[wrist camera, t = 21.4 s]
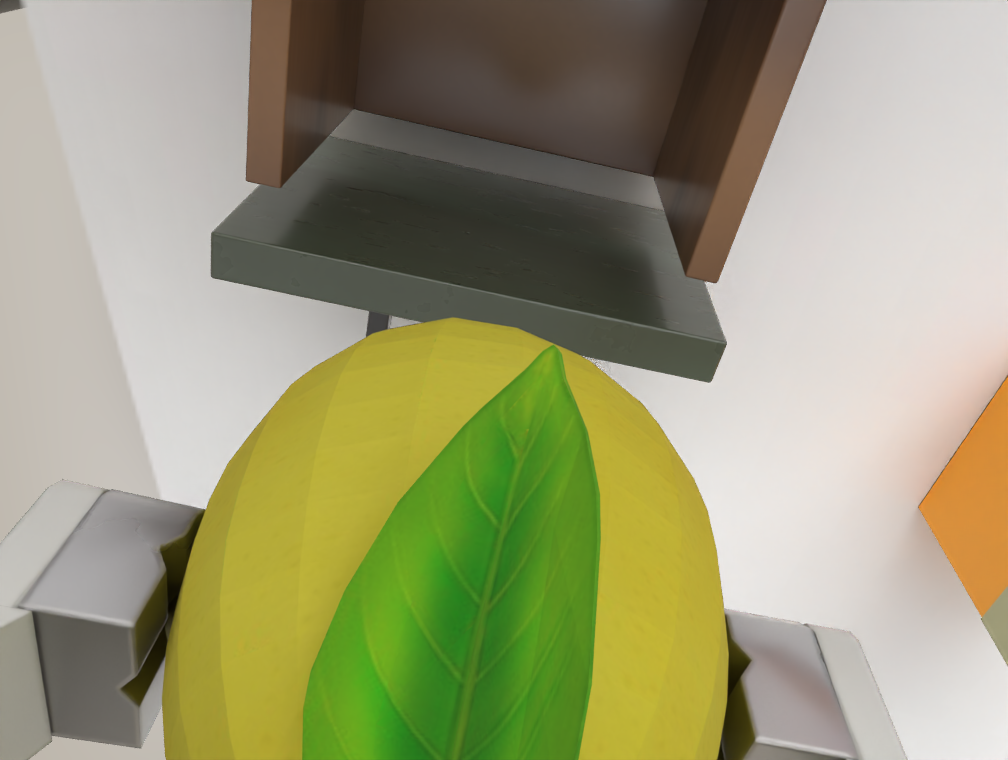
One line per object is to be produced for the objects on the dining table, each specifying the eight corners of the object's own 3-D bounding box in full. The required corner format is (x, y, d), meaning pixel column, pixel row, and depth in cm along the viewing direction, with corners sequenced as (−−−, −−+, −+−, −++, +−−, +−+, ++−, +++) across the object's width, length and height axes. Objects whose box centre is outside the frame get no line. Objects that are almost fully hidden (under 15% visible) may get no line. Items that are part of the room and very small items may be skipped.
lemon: (455, 617, 14) (303, 1713, 6) (193, 401, 12) (-693, 1654, 3) (792, 427, 12) (1437, 1901, 3) (538, 108, 9) (370, 2088, 1)
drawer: (628, 366, 30) (651, 528, 22) (298, 297, 29) (207, 440, 21) (855, -295, 19) (1038, -407, 12) (354, -428, 19) (218, -635, 11)
